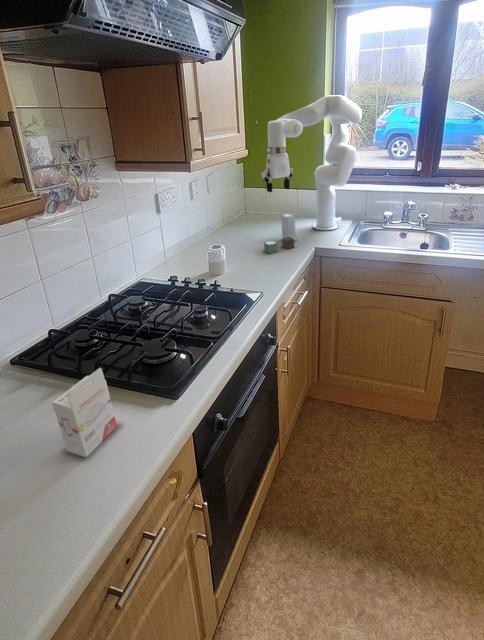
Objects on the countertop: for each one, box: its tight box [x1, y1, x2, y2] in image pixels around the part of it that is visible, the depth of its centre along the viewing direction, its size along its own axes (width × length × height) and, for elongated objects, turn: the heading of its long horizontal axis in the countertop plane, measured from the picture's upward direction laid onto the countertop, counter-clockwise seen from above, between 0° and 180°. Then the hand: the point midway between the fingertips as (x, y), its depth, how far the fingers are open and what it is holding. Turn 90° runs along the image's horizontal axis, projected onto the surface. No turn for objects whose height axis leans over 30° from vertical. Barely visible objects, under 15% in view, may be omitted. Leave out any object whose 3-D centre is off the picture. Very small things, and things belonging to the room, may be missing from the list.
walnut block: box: [281, 237, 295, 250], centre depth 183 cm, size 4×4×4 cm
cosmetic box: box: [280, 213, 297, 242], centre depth 191 cm, size 6×4×12 cm
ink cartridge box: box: [51, 367, 118, 458], centre depth 77 cm, size 9×5×15 cm, turn 158°
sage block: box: [263, 240, 278, 255], centre depth 178 cm, size 4×4×4 cm
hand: (278, 190), depth 183 cm, fingers open, 9 cm apart
